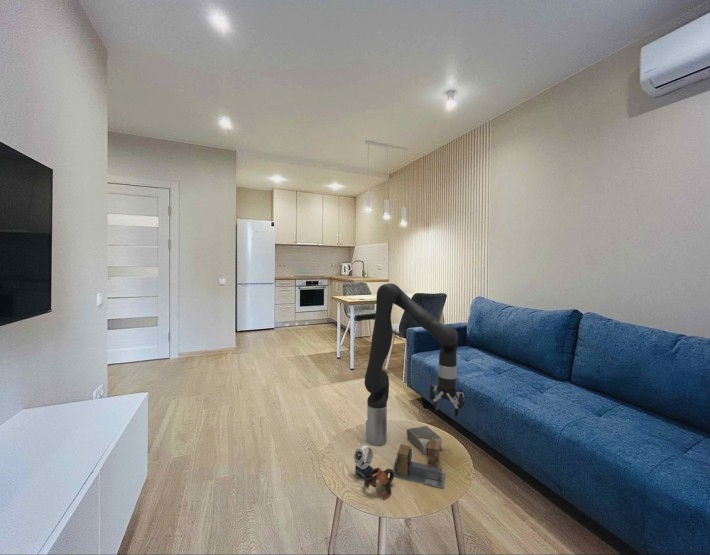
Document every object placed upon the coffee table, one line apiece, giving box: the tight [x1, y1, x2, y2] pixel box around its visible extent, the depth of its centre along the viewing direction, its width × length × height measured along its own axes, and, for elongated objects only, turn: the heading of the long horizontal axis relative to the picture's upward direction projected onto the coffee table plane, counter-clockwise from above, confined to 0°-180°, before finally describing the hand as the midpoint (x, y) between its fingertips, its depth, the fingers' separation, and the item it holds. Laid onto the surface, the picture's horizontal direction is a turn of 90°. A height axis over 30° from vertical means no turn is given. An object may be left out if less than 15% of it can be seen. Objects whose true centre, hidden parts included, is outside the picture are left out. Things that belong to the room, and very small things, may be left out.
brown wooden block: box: [426, 440, 440, 467], centre depth 125 cm, size 5×6×8 cm
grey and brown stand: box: [392, 443, 446, 490], centre depth 117 cm, size 20×8×9 cm, turn 69°
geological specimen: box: [406, 425, 443, 457], centre depth 138 cm, size 11×6×15 cm
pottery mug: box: [363, 467, 395, 501], centre depth 110 cm, size 12×10×8 cm
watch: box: [353, 444, 374, 481], centre depth 117 cm, size 6×8×11 cm
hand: (446, 413), depth 126 cm, fingers open, 8 cm apart
